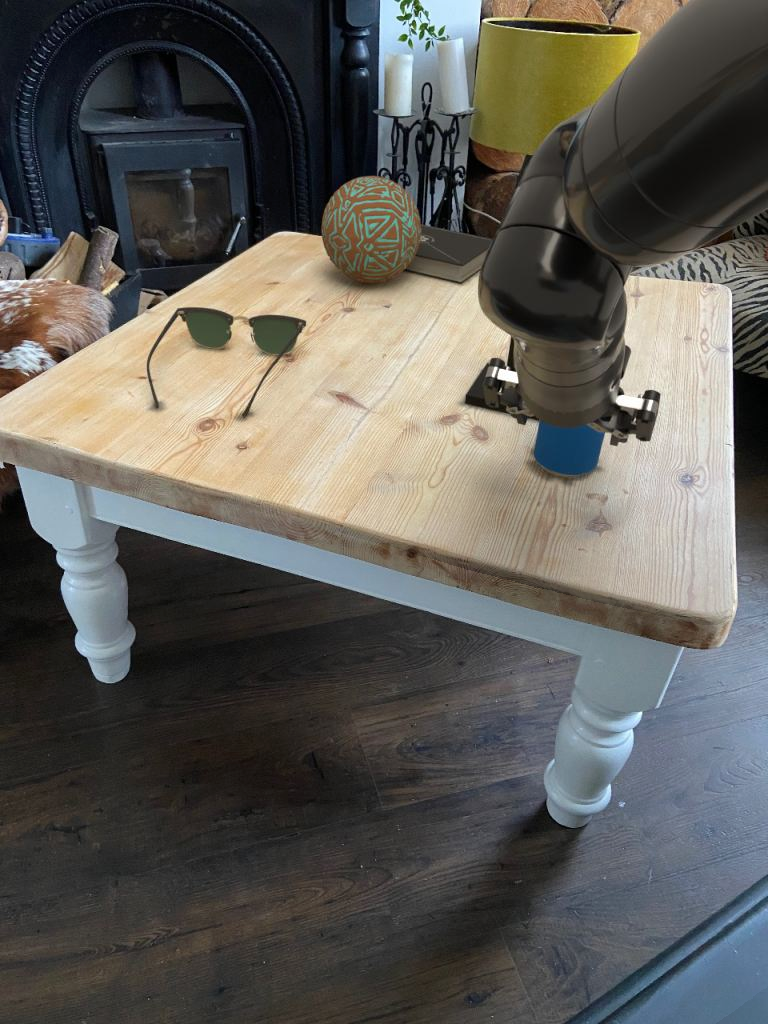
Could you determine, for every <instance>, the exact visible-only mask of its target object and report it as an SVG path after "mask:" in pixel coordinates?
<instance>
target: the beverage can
mask: <svg viewBox="0 0 768 1024" xmlns="http://www.w3.org/2000/svg"><path fill="white" fill-rule="evenodd" d="M599 419H600V418H599ZM605 435H606V433H599V432H597V431H595V430H594V429H592V428H590V427H589V426H587V425H584V426H580V427H574V428H560V427H555V426H551V425H549V424H546V423H544V422H542V421H541V420H538V426H537V433H536V437H535V441H534V442H535V443H534V448H533V458H534V460H535V461H536V463H537V464H538V465H539V466H540V467H542V469H544V470H545V471H546V472H548V473H550V474H552V475H554V476H558V477H563V478H578V477H580V476H582V475H586V474H589V473H591V472H593V471H594V470H595V469H596V468H597V466H598V463H599V459H600V455H601V450H602V447H603V444H604V440H605Z"/></svg>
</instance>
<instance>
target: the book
mask: <svg viewBox="0 0 768 1024" xmlns="http://www.w3.org/2000/svg"><path fill="white" fill-rule="evenodd" d="M492 240H493V238H489V237H485V236H481V235H477V234H470V233H465V232H461V231H455V230H450V229H448V228H447V229H445V228H441V227H437V226H432V225H427V224H422V223H421V238H420V244H419V247H418V250H417V253H416V255H415V257H414V258H413V260H412V261H411V263H410V264H409V265H408V267H407V268H406V269H405V270H404V271H405V272H409V273H414V274H418V275H422V276H425V277H426V276H427V277H431V278H435V279H440V280H444V281H448V282H452V283H455V284H456V283H457V284H462V283H464V282H465V281H467V280H468V279H470V278H471V277H473V276H474V275H475V274H476V273H478V272H480V270H481V266H482V263H483V260H484V258H485V255H486V253H487V251H488V249H489V246H490V244H491V242H492Z"/></svg>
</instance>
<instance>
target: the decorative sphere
mask: <svg viewBox="0 0 768 1024" xmlns="http://www.w3.org/2000/svg"><path fill="white" fill-rule="evenodd" d="M421 221H422V220H421V216H420V212H419V209H418V207H417V205H416V202H415V201H414V199H413V198H412V197H411V195H410V194H409V192H408V191H406V190H405V188H403V187H402V185H399V184H398V183H397V182H395V181H393V180H392V179H389V178H386V177H383V176H378V175H365V176H359V177H356V178H352V179H351V180H349V181H347V182H345V183H344V184H343V185H341V186H340V187H339V189H337V190H336V191H334V193H333V195H332V196H331V197H330V198H329V201H328V202H327V204H326V205H325V208H324V211H323V215H322V221H321V240H322V244H323V247H324V250H325V253H326V255H327V257H329V260H330V261H331V263H332V264H333V265H334V267H335V268H336V269H337V270H339V272H341V273H342V274H344V275H345V276H347V277H349V279H352V280H355V281H357V282H361V283H366V284H376V283H382V282H385V281H388V280H390V279H391V280H392V279H394V278H395V277H397V276H399V275H400V274H401V273H402V272H404V271H405V269H406V268H407V267H408V265H409V264H410V263H411V261H412V260H413V258H414V257H415V255H416V253H417V250H418V247H419V244H420V238H421V224H422V222H421Z"/></svg>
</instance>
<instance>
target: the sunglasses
mask: <svg viewBox="0 0 768 1024" xmlns="http://www.w3.org/2000/svg"><path fill="white" fill-rule="evenodd" d="M178 317H180V318H181V320H182V322H184V323H185V325H186V328H187V331H188V334H189V336H190V337H191V339H192V340H193V342H195V343H196V344H197V345H199V346H201V347H203V348H207V349H215V350H217V349H219V350H220V349H223V348H224V347H225V346H227V344H228V343H229V341H230V340H231V339H232V336H233V332H232V328H231V327H232V326H233V324H234V322H235V321H237V320H239V321H241V320H242V321H245V322H248V324H249V327H250V328H251V329H252V332H250V338H251V341H252V343H253V344H254V343H255V345H256V346H257V348H258V349H259V350H260V351H261V352H263V353H265V354H268V355H273V356H277V357H276V358H275V359H274V360H273V362H272V363H271V364H270V365H269V367H268V368H267V370H266V371H265V372H264V374H263V376H262V378H261V379H260V381H259V383H258V385H257V387H256V388H255V391H254V392H253V394H252V396H251V397H250V399H249V402H248V403H247V405H246V407H245V408H244V410H243V412H242V414H241V417H245V416H246V415H248V414H249V412H250V411H251V408H252V405H253V403H254V400H255V398H256V397H257V394H258V392H259V390H260V389H261V386H262V384H263V383H264V381H265V379H266V378H267V376H268V375H269V374H270V373H271V371H272V369H273V368H274V367H275V366H276V364H277V363H278V362H279V361H280V359H281V358H282V357H283V356H284V355H287V354H289V353H291V352H292V351H293V350H294V349H295V347H296V344H297V342H298V337H299V335H300V334H301V333H303V330H304V328H306V326H307V320H306V319H302V318H299V317H294V316H290V315H284V314H283V315H282V314H261V315H255V316H252V317H250V318H248V317H247V316H243V315H236V316H234V315H232V314H230V313H227V312H226V311H222V310H221V309H215V308H210V307H209V308H208V307H198V306H186V307H178V308H176V310H175V311H174V313H173V314H172V316H171V317H170V318H169V320H168V321H167V323H166V324H165V326H164V327H163V329H162V331H161V332H160V333H159V336H158V337H157V339H156V340H155V342H154V344H153V345H152V347H151V349H150V351H149V354H148V357H147V359H146V375H147V380H148V383H149V387H150V390H151V391H150V392H151V395H152V398H153V402H154V405H155V407H156V408H159V406H160V404H159V403H160V402H159V401H158V397H157V394H156V391H155V387H154V383H153V380H152V376H151V370H150V364H151V360H152V357H153V355H154V353H155V351H156V349H157V348H158V346H159V344H160V343H161V341H162V339H164V337H165V335H166V334H167V333H168V331H169V330H170V328H171V327H172V325H173V324H174V323H175V321H176V320H177V319H178Z"/></svg>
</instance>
